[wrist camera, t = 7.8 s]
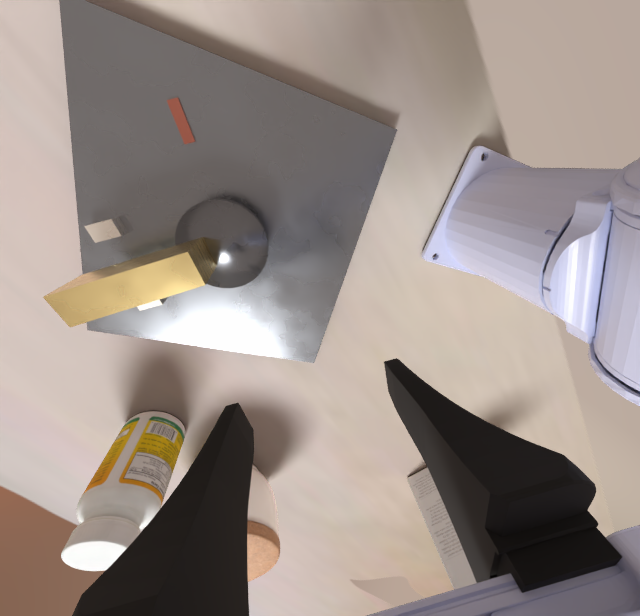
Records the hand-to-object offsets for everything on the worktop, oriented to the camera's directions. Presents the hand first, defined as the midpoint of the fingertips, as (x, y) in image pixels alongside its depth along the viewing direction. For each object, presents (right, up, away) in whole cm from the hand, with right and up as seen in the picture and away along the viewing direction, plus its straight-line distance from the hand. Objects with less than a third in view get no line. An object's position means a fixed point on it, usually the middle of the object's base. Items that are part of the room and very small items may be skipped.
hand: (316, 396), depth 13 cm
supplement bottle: (-15, -7, +13) cm, 21 cm away
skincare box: (+15, -18, +24) cm, 33 cm away
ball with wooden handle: (-8, +7, +4) cm, 12 cm away
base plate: (-6, +9, +6) cm, 12 cm away
